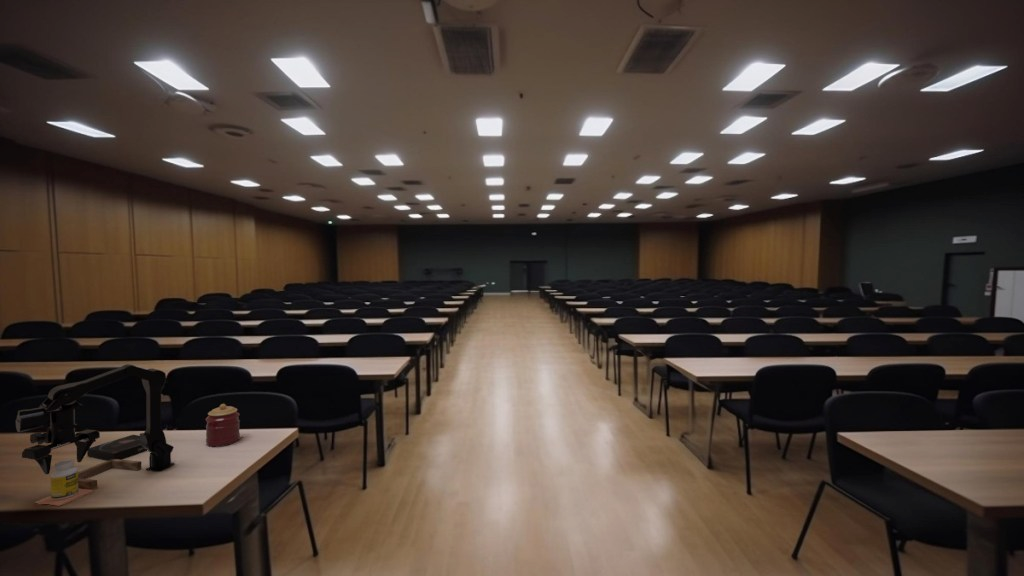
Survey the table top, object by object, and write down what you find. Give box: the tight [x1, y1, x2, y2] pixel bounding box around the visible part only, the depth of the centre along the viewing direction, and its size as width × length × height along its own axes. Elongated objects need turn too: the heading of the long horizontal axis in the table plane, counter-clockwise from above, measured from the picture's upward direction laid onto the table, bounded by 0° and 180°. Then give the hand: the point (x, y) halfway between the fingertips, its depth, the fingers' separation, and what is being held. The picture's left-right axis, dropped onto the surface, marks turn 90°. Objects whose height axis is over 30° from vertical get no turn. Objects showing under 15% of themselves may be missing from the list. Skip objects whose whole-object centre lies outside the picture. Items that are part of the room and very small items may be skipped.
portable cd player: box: [86, 434, 148, 462], centre depth 183 cm, size 16×17×4 cm
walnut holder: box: [78, 459, 142, 491], centre depth 160 cm, size 14×17×3 cm
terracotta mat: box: [34, 488, 94, 507], centre depth 145 cm, size 10×10×1 cm
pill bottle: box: [50, 459, 79, 500], centre depth 145 cm, size 6×6×12 cm
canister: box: [205, 403, 241, 447], centre depth 195 cm, size 13×13×18 cm
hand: (63, 467), depth 145 cm, fingers open, 9 cm apart
